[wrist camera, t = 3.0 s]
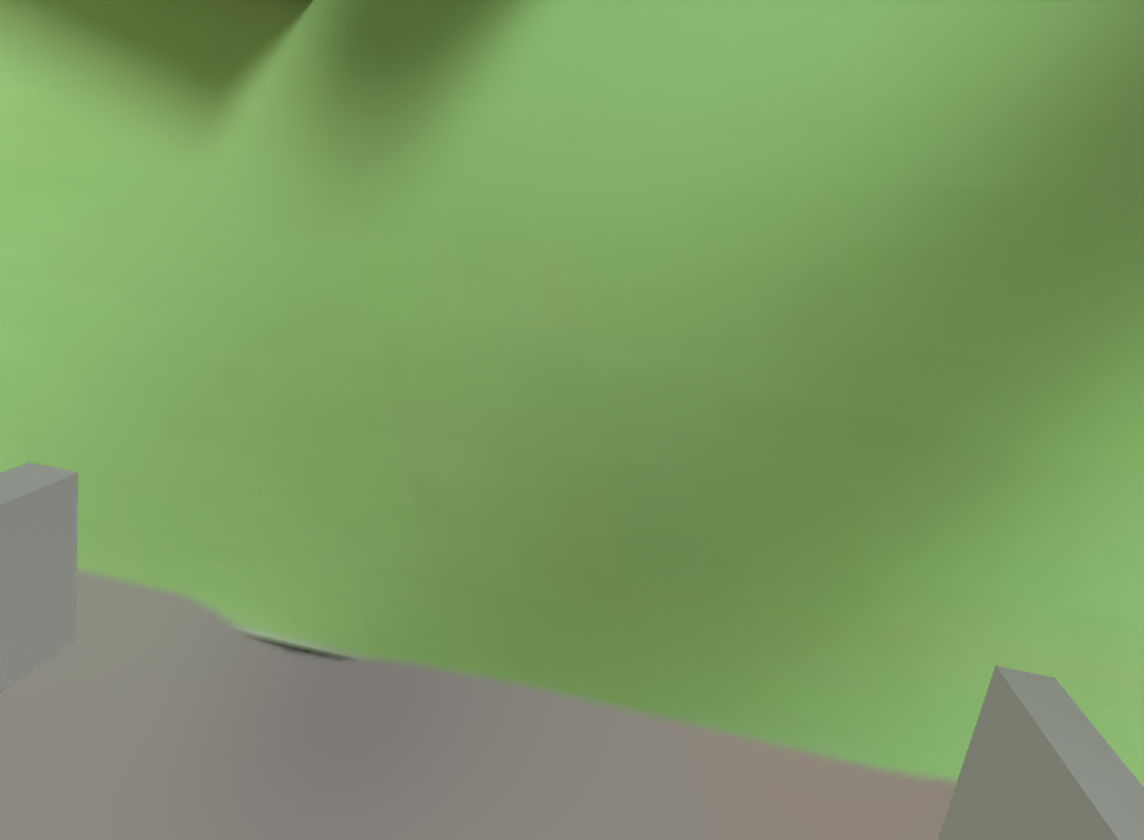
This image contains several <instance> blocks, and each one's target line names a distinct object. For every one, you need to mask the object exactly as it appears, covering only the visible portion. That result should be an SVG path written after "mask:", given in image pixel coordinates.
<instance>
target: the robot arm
mask: <svg viewBox="0 0 1144 840" xmlns="http://www.w3.org/2000/svg"><path fill="white" fill-rule="evenodd" d="M77 498H78V472H73V471H68V470H63V469H59V468H54V467H49V466H44V465H40V464H35V463H30V462H29V463H26V464H24V465H21V466H18V467H16V468H13V469H10V470H8V471H5V472H2V473H0V692H2V691H3V690H5V689H6V688H8V687H9V686H10V685H12V684H13V683H14V682H16V681H17V680H19V679H20V678H22V677H23V676H25V675H26V674H27V673H29V672H30V671H32V670H33V669H35V668H36V667H38V666H39V665H40V664H42V663H43V662H45V661H46V660H48V659H49V658H51V657H52V656H53V655H55V654H56V653H58V652H59V651H61V650H62V649H63V648H65V647H66V646H68V645H69V644H71V643H72V642H73V641H75V609H76V608H75V607H76V553H77ZM939 839H940V840H1144V787H1143V786H1142V785H1141V783H1140V782H1139V781H1138V780H1137V779H1136V777H1135V776H1134V775H1133V774H1132V772H1131V771H1130V770H1129V769H1128V767H1127V766H1126V765H1125V764H1124V763H1123V761H1122V760H1121V759H1120V758H1119V756H1118V755H1117V754H1116V753H1115V751H1114V750H1113V749H1112V748H1111V747H1110V745H1109V744H1108V743H1107V742H1106V740H1105V739H1104V738H1103V737H1102V735H1101V734H1100V733H1099V732H1098V731H1097V729H1096V728H1095V727H1094V726H1093V724H1092V723H1091V722H1090V721H1089V719H1088V718H1087V717H1086V716H1085V715H1084V713H1083V712H1082V711H1081V710H1080V708H1079V707H1078V706H1077V705H1076V703H1075V702H1074V701H1073V700H1072V699H1071V697H1070V696H1069V695H1068V694H1067V692H1066V691H1065V690H1064V689H1063V687H1062V686H1061V685H1060V684H1059V683H1058V681H1057V680H1056V679H1055V678H1053V677H1048V676H1044V675H1039V674H1034V673H1029V672H1025V671H1020V670H1015V669H1010V668H1006V667H1001V666H995V669H994V672H993V675H992V678H991V681H990V684H989V687H988V690H987V693H986V696H985V699H984V702H983V705H982V708H981V711H980V714H979V717H978V720H977V723H976V726H975V729H974V732H973V735H972V738H971V741H970V744H969V747H968V750H967V753H966V756H965V760H964V763H963V766H962V769H961V772H960V775H959V778H958V781H957V784H956V787H955V790H954V793H953V796H952V799H951V802H950V805H949V808H948V811H947V814H946V817H945V820H944V823H943V826H942V829H941V832H940V835H939Z"/></svg>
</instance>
